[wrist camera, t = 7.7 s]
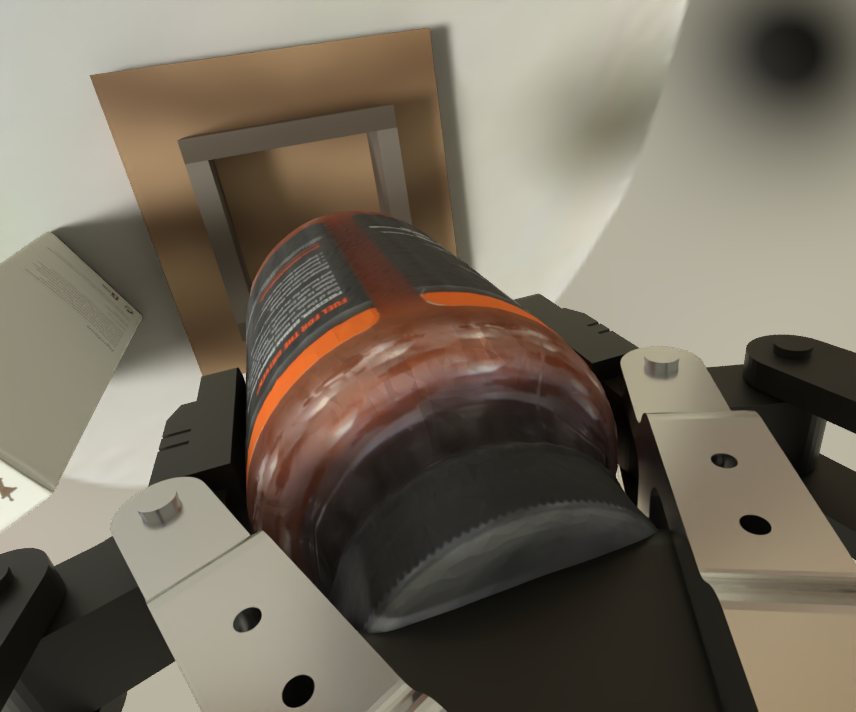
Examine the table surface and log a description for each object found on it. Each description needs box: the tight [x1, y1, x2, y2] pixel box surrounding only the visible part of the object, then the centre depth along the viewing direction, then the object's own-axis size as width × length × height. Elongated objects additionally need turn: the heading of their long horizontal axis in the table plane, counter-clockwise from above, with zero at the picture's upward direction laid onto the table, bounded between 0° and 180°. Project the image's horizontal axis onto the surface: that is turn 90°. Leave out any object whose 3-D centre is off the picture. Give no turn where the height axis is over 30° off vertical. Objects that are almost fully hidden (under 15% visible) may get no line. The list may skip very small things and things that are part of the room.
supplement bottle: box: [245, 211, 658, 634], centre depth 11 cm, size 6×6×11 cm
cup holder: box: [90, 28, 457, 376], centre depth 29 cm, size 16×16×4 cm
